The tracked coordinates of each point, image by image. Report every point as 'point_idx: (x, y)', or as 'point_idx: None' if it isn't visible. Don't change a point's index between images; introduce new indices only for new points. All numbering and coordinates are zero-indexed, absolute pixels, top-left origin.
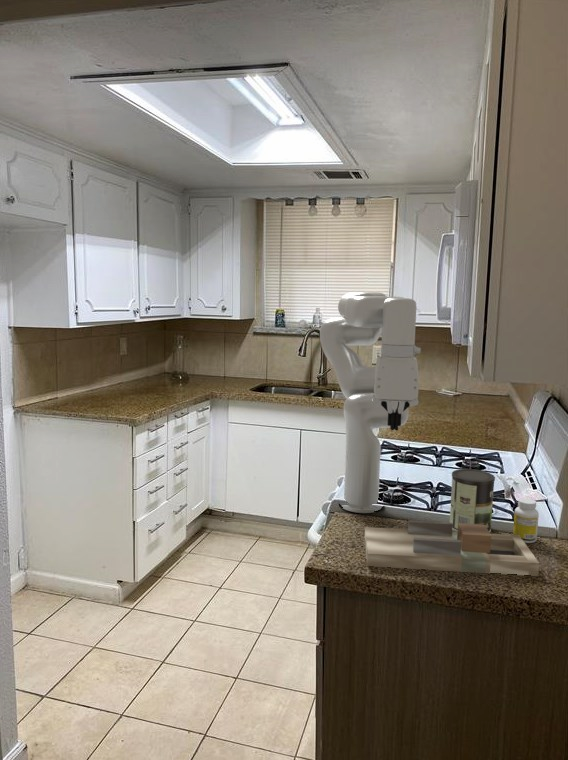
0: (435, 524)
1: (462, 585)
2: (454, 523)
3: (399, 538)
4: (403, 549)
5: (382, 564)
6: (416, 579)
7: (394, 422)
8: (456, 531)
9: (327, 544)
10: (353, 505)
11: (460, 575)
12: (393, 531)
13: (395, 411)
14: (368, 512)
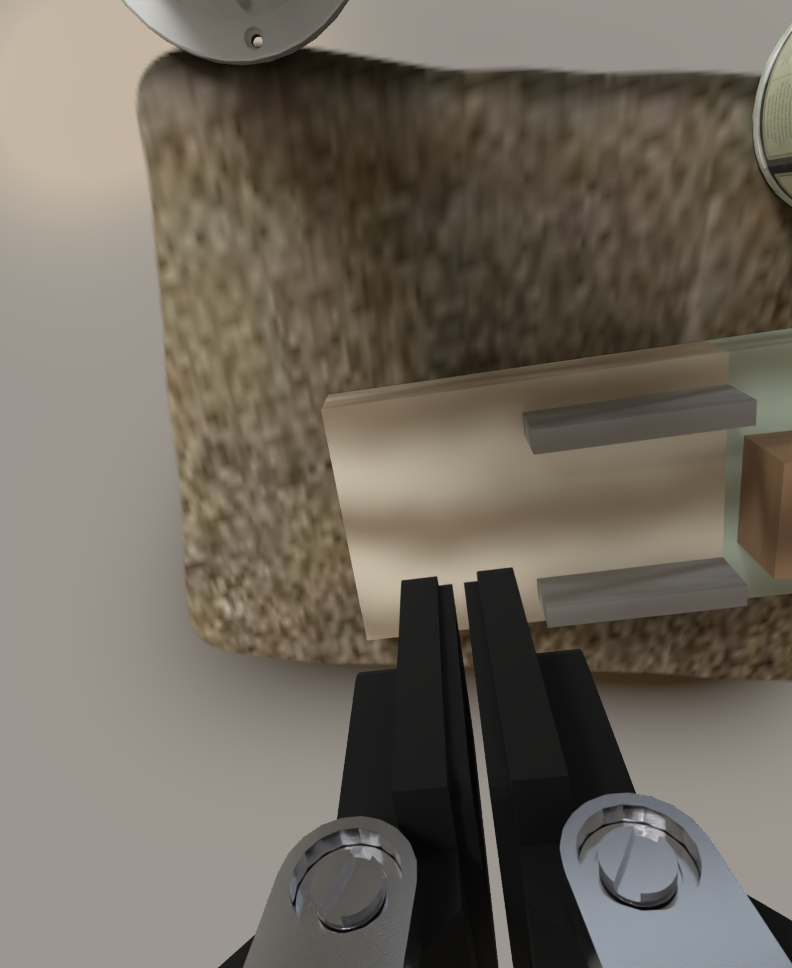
0: (665, 435)
1: (683, 655)
2: (785, 171)
3: (483, 488)
4: None
5: None
6: None
7: (483, 832)
8: (775, 191)
9: (192, 484)
10: (195, 10)
11: None
12: (456, 422)
13: (517, 816)
14: (298, 48)
